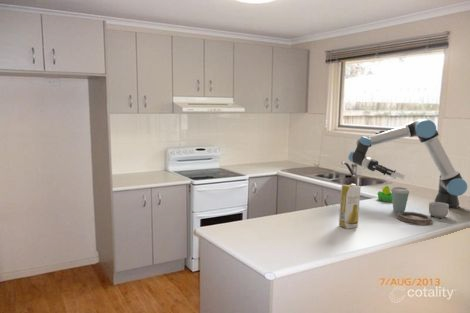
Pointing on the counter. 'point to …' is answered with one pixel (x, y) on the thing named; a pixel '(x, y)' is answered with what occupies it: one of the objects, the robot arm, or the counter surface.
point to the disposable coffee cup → (399, 198)
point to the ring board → (414, 218)
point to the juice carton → (349, 206)
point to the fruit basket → (385, 194)
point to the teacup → (438, 209)
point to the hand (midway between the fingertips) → (400, 177)
